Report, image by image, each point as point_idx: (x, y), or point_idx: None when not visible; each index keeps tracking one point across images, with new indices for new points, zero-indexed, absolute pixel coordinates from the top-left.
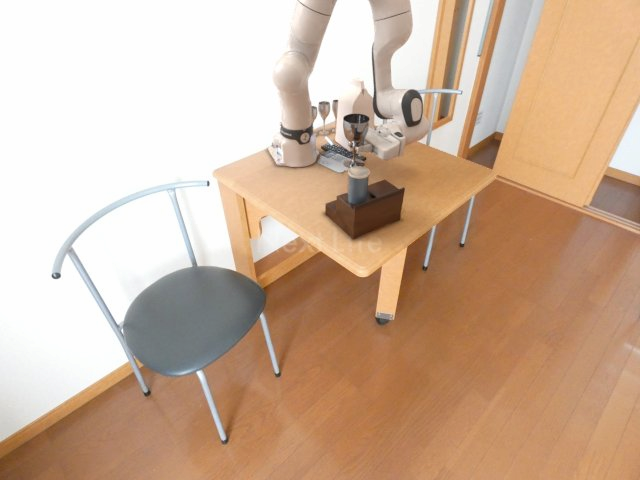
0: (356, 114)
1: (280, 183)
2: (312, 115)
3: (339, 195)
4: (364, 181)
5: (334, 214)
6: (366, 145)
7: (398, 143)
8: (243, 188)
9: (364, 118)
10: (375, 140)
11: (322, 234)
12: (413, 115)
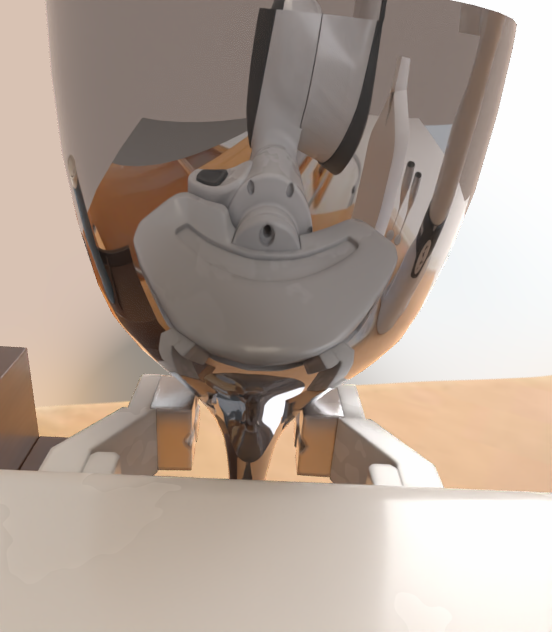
0: (504, 36)
1: (495, 472)
2: None
3: (17, 355)
4: None
5: None
6: (99, 437)
7: None
8: (483, 381)
9: (355, 87)
10: (24, 550)
11: (46, 425)
12: None
